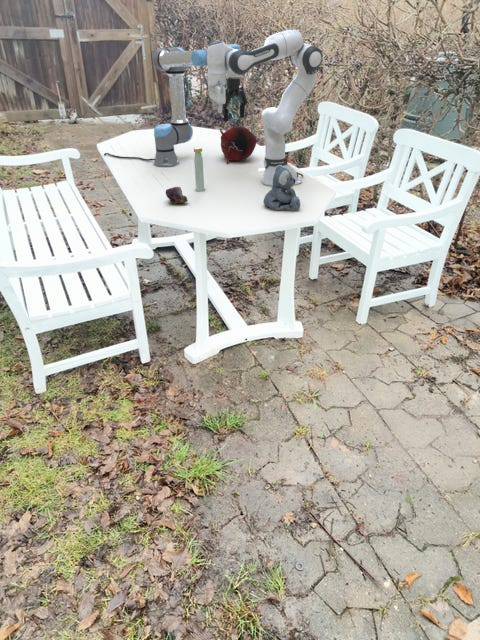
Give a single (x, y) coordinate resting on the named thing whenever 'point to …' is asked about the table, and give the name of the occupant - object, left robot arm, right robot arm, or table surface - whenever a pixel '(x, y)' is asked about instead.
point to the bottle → (199, 171)
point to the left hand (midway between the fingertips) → (234, 119)
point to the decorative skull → (237, 143)
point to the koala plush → (282, 191)
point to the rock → (176, 195)
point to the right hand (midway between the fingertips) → (217, 111)
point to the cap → (197, 149)
